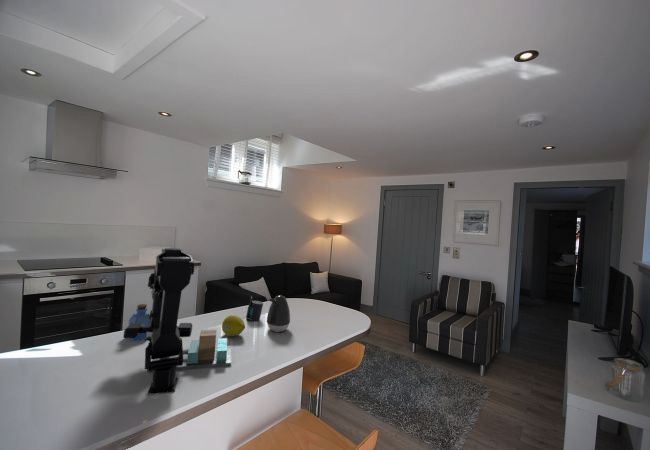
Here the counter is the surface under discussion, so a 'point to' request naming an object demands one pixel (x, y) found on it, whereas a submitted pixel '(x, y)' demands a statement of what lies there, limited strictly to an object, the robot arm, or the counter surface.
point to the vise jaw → (191, 352)
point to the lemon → (233, 325)
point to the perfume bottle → (140, 320)
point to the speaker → (254, 310)
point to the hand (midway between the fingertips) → (157, 356)
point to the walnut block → (207, 344)
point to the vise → (219, 360)
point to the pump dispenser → (278, 314)
